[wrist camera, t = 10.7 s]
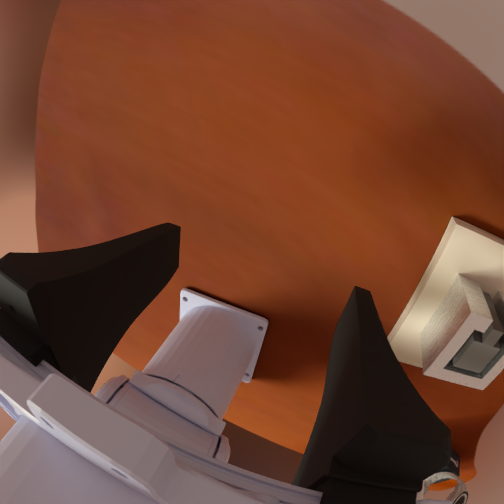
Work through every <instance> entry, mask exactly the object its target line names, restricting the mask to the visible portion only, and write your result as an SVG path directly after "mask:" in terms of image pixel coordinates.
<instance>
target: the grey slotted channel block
mask: <svg viewBox="0 0 504 504" xmlns="http://www.w3.org/2000/svg"><path fill="white" fill-rule="evenodd" d="M492 302H493V305H494V307H495V310H496V312H497V315H498V318H499V321H500V323H501V326H502V329H503V332H504V293H503V292H501V291H498V292H497V294H496V295H495V297H494V298H493V300H492ZM492 322H493V319H492V316H491V313H490V310H489V308H488V305H487V302H486V300H485V297H484V294H483V292H482V289H481V287H480V284H479V282H478V281H476V280H473V279H471V278H468V277H466V276H463V275H461V274H459V273H458V275H457V277H456V278H455V280H454V282H453V283H452V285H451V287H450V288H449V290H448V292H447V293H446V295H445V296H444V298H443V300H442V301H441V303H440V304H439V306H438V307H437V309H436V311H435V312H434V314H433V315H432V317H431V318H430V320H429V321H428V323H427V324H426V325H425V327H424V328H423V330H422V331H421V333H420V337H421V349H422V365H423V375H427V376H431V377H434V378H438V379H441V380H445V381H449V382H452V383H456V384H460V385H464V386H468V387H472V388H476V389H480V390H484V389H485V388H486V387H487V386H488V385H489V384H490V383H491V381H492V380H493V379H494V378H495V377H496V376H497V375H498V374H499V373H500V372H501V371H502V370H503V369H504V334H503V335H502V336H501V337H500V339H499V340H498V343H499V346H500V350H499V351H498V353H497V354H496V355H495V356H494V357H493V359H492V360H491V361H490V362H489V363H488V364H487V365H486V367H485V368H484V369H483V370H482V371H481V372H480V373H477V372H473V371H469V370H466V369H462V368H458V367H455V366H453V359H452V357H453V356H454V355H455V354H456V353H457V351H458V350H459V349H460V348H461V346H462V345H463V344H464V343H465V341H466V340H467V339H468V338H469V336H470V335H471V334H472V332H473V331H474V330H477V331H480V332H483V333H484V332H485V331H486V330H487V328H488V327H489V326H490V324H491V323H492Z"/></svg>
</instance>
